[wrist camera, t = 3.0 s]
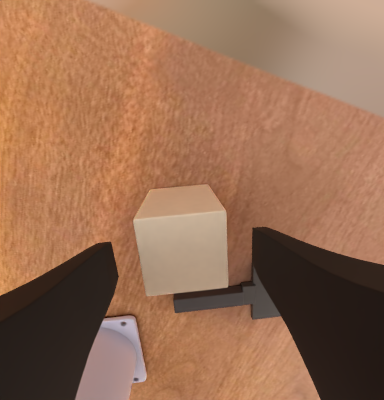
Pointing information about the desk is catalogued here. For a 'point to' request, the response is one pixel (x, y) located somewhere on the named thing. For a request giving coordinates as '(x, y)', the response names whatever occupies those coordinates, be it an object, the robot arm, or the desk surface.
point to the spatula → (229, 299)
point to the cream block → (182, 240)
